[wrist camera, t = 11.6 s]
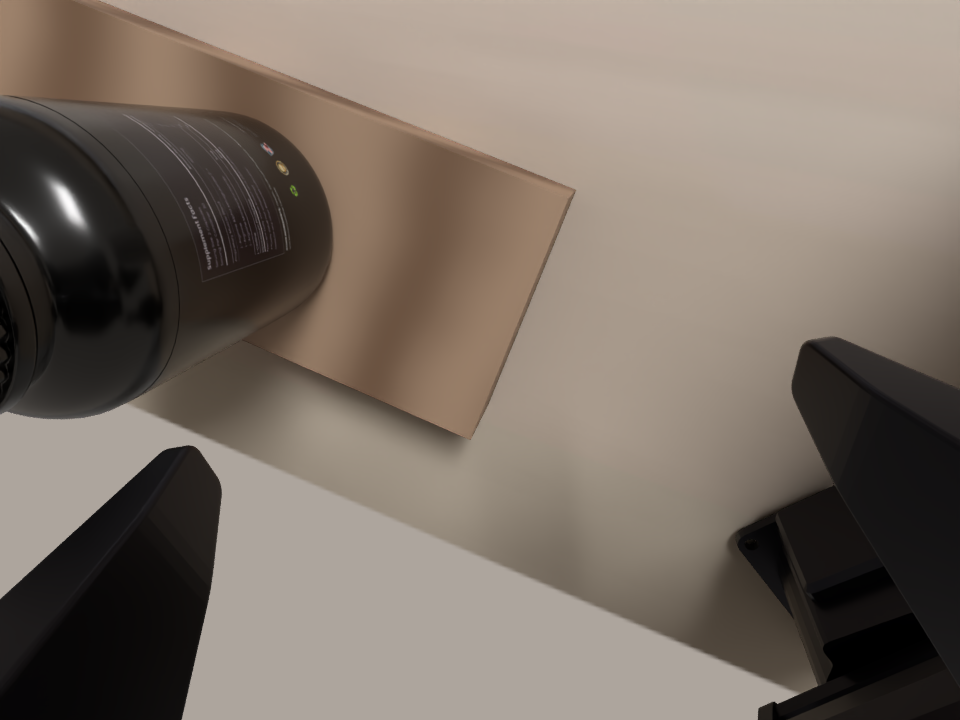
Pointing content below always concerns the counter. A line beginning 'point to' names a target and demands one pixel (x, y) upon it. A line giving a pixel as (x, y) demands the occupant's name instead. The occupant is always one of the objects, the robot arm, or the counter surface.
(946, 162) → the counter surface
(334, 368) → the walnut ledge
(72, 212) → the supplement bottle
